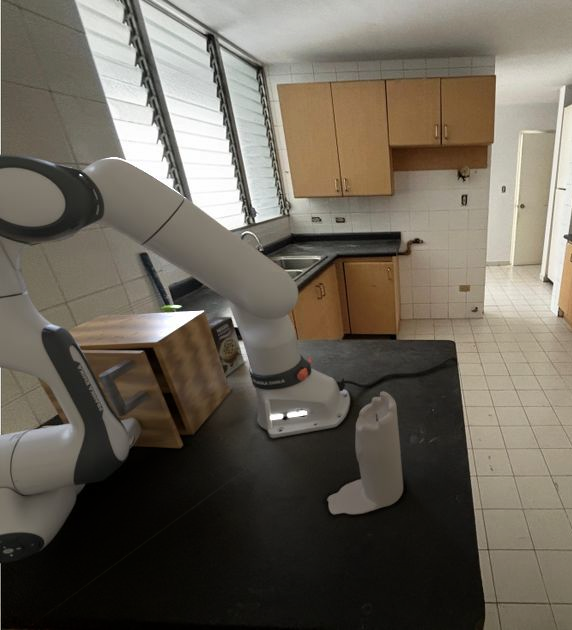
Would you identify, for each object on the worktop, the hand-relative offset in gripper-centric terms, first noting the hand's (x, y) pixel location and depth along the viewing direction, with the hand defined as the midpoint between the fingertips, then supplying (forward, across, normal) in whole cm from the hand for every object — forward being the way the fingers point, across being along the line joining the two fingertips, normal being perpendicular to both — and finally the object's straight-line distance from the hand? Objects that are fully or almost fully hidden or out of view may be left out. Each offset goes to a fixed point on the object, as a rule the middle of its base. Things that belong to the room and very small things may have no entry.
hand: (89, 424), depth 72 cm
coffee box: (+25, -24, +7) cm, 35 cm away
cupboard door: (-4, -4, +7) cm, 9 cm away
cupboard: (+8, -10, +7) cm, 15 cm away
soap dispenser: (+35, -12, +7) cm, 38 cm away
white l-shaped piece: (-39, -49, +7) cm, 63 cm away
